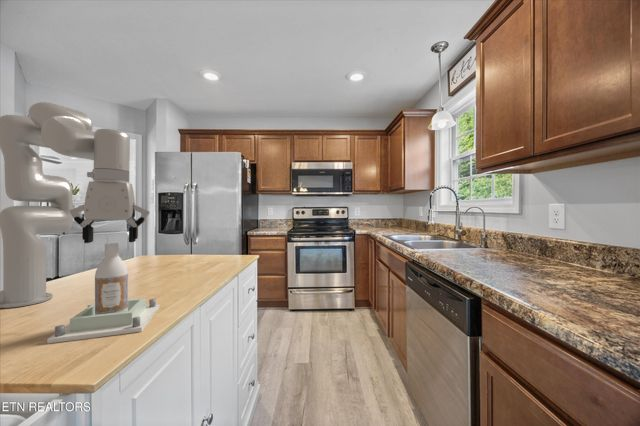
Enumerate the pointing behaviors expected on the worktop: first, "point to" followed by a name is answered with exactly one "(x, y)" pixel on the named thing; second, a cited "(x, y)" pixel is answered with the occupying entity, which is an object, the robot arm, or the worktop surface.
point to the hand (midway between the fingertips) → (111, 242)
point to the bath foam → (111, 283)
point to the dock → (106, 322)
